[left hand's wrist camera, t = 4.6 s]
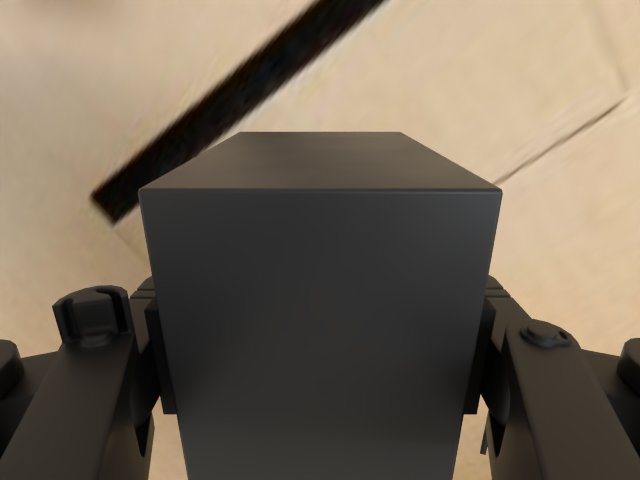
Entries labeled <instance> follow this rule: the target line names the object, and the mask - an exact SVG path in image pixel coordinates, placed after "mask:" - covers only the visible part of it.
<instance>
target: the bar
mask: <svg viewBox="0 0 640 480" xmlns="http://www.w3.org/2000/svg"><path fill="white" fill-rule="evenodd" d="M502 194H503V193H502V189H500V188H498V187H496V186H495V185H493V184H491V183H489V182H488V181H486V180H484V179H482V178H481V177H479V176H477V175H475V174H473V173H472V172H470V171H468V170H466V169H465V168H463V167H461V166H459V165H458V164H456V163H454V162H452V161H451V160H449V159H447V158H445V157H443V156H442V155H440V154H438V153H436V152H435V151H433V150H431V149H429V148H428V147H426V146H424V145H422V144H421V143H419V142H417V141H415V140H413V139H412V138H410V137H408V136H406V135H405V134H403V133H401V132H239V133H237V134H236V135H234V136H232V137H230V138H229V139H227V140H225V141H223V142H222V143H220V144H218V145H216V146H214V147H213V148H211V149H209V150H207V151H206V152H204V153H202V154H200V155H199V156H197V157H195V158H193V159H192V160H190V161H188V162H186V163H185V164H183V165H181V166H179V167H177V168H176V169H174V170H172V171H170V172H169V173H167V174H165V175H163V176H162V177H160V178H158V179H156V180H155V181H153V182H151V183H149V184H148V185H146V186H144V187H142V188H141V189H139V190H138V197H139V203H140V208H141V214H142V220H143V225H144V231H145V237H146V243H147V248H148V254H149V260H150V265H151V271H152V277H153V282H154V288H155V294H156V299H157V305H158V311H159V316H160V322H161V328H162V334H163V339H164V345H165V351H166V356H167V362H168V368H169V373H170V379H171V385H172V390H173V396H174V402H175V408H176V413H177V419H178V425H179V430H180V436H181V442H182V447H183V453H184V459H185V464H186V470H187V476H188V480H452V478H453V472H454V467H455V461H456V455H457V450H458V444H459V438H460V432H461V427H462V421H463V415H464V410H465V404H466V398H467V393H468V387H469V381H470V376H471V370H472V364H473V359H474V353H475V347H476V342H477V336H478V330H479V325H480V319H481V313H482V308H483V302H484V296H485V291H486V285H487V279H488V274H489V268H490V262H491V257H492V251H493V245H494V240H495V234H496V228H497V223H498V217H499V211H500V206H501V200H502Z"/></svg>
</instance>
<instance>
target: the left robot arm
mask: <svg viewBox="0 0 640 480" xmlns="http://www.w3.org/2000/svg"><path fill="white" fill-rule="evenodd" d="M52 308H53V311H54V315H55V318H56V322H57V325H58V329H59V332H60V336H61V339H62V342H63V343H62V344H61V346H60V348H59V350H58V351H56V352H51V353H46V354H41V355H35V356H30V357H25V358H21V357H20V354H19V352H18V349H17V346H16V344H14V343H13V342H11V341H10V340H0V480H148V476H149V468H150V460H151V452H152V445H153V437H154V429H155V427H154V420H153V415H152V409H153V407H154V406H155V404H156V402H157V400H158V398H159V396H160V398H161V403H162V408H163V413H164V414H177V413H176V408H175V402H174V396H173V390H172V385H171V379H170V373H169V368H168V362H167V356H166V351H165V345H164V339H163V334H162V328H161V322H160V316H159V311H158V305H157V299H156V294H155V288H154V282H153V277H152V276H151V277H149V278H147V279H146V280H145V281H144V282H143V283H142V284H141V285H140V286H139V288H138V289H137V291H135V292H134V293H133V294H132V295H131V296H130V299H128V294H127V291H126V290H125V289H123V288H122V287H118V286H112V285H108V286H95V287H90V288H85V289H82V290H79V291H76V292H73V293H70V294H68V295H67V296H65V297H63V298H61V299H59V300H58V301H57V302H56V303H55V304H54V305H53V306H52ZM480 394H481V395H482V397H483V399H484V401H485V403H486V405H487V407H488V409H489V411H488V415H487V420H486V425H485V430H484V435H483V440H482V445H481V451H480V454H484V455H486V450H487V447H488V451H489V459H490V467H491V475H492V480H640V338H633V339H630V340H628V341H627V342H625V344H624V347H623V350H622V353H621V355H620V356H614V355H609V354H604V353H598V352H593V351H588V350H584V349H581V347H580V346H579V344H578V342H577V341H576V340H575V338H574V337H573V336H572V335H571V334H570V333H568V332H567V331H565V330H563V329H562V328H560V327H558V326H555V325H553V324H551V323H548V322H544V321H540V320H536V319H531V317H530V316H529V315H528V314H527V313H526V312H525V311H524V310H523V309H522V308H521V307H520V305H519V304H518V303H517V302H516V301H515V300H514V299H513V298H511V296H510V294H509V293H508V292H507V291H506V290H503V287H502V286H501V285H500V283H499V282H498V281H497V280H496V279H495V278H494V277H492V276H490V275H488V279H487V285H486V291H485V296H484V302H483V308H482V313H481V319H480V325H479V330H478V336H477V342H476V347H475V353H474V359H473V364H472V370H471V376H470V381H469V387H468V393H467V398H466V404H465V410H464V414H477V409H478V404H479V399H480Z"/></svg>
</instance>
